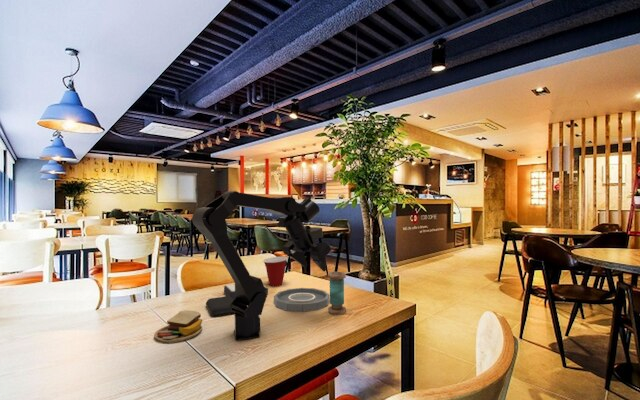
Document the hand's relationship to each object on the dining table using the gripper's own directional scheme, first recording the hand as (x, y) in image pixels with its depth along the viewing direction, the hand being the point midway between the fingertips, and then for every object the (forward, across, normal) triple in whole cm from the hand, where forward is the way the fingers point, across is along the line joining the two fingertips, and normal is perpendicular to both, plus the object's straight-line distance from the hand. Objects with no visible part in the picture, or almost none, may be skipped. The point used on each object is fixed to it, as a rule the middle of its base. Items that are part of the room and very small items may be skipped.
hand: (315, 268), depth 110 cm
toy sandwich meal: (-8, +15, +42) cm, 45 cm away
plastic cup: (+18, +38, -1) cm, 42 cm away
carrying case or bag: (+2, +25, +26) cm, 36 cm away
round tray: (+14, +11, +5) cm, 18 cm away
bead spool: (+15, -6, +4) cm, 16 cm away
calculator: (+10, +35, +13) cm, 38 cm away
